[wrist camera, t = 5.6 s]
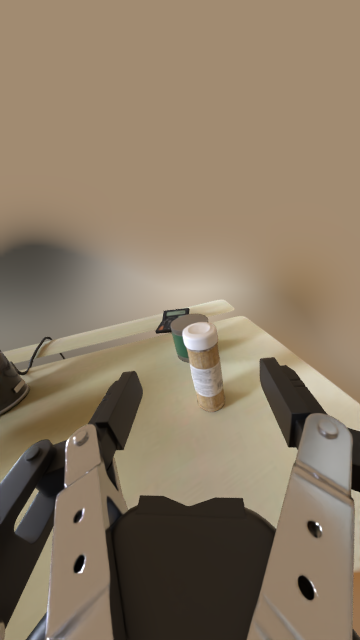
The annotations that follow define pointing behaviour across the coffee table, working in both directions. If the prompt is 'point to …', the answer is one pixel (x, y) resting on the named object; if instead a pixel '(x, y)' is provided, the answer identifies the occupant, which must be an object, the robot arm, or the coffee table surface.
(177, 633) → the robot arm
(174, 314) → the calculator
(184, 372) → the coffee table surface
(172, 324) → the tin can
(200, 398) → the spice jar
